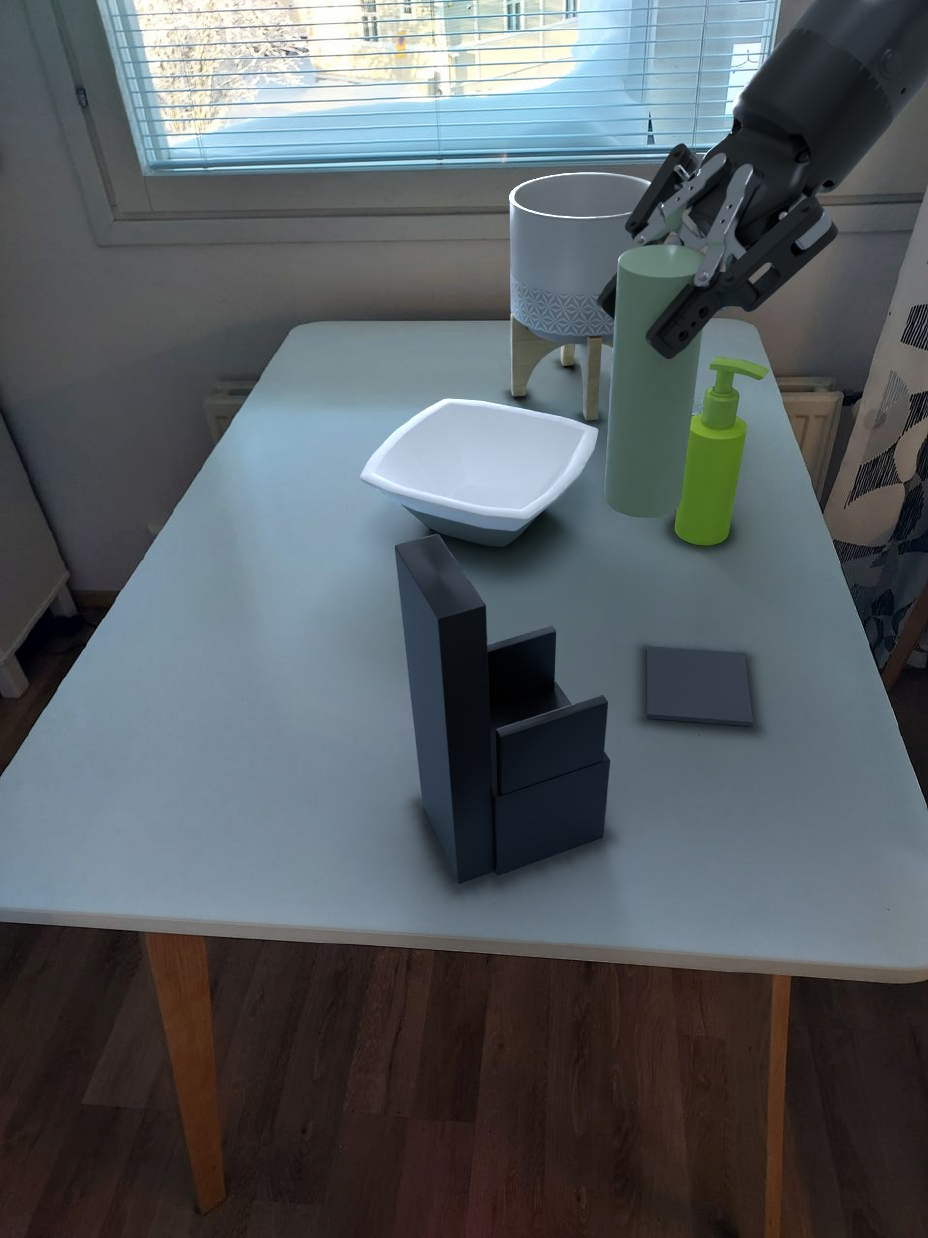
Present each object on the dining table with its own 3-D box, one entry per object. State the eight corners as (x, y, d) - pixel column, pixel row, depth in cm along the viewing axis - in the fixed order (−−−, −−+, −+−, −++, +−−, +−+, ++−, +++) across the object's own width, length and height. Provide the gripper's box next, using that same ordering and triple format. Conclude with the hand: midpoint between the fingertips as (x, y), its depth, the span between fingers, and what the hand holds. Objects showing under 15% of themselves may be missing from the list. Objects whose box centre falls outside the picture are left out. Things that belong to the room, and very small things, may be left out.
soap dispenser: (727, 554, 100) (757, 381, 87) (666, 536, 103) (687, 366, 90) (745, 526, 104) (776, 357, 91) (686, 510, 106) (708, 343, 94)
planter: (503, 365, 138) (500, 177, 121) (628, 355, 139) (642, 167, 122) (521, 426, 123) (521, 223, 107) (661, 414, 124) (682, 210, 108)
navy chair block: (553, 756, 79) (561, 497, 62) (603, 837, 72) (627, 570, 56) (420, 801, 76) (391, 540, 59) (460, 889, 69) (440, 624, 53)
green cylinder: (682, 520, 61) (713, 276, 51) (602, 516, 62) (617, 275, 51) (680, 478, 65) (708, 244, 55) (605, 475, 66) (619, 243, 55)
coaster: (752, 726, 81) (753, 722, 80) (647, 718, 82) (647, 714, 81) (744, 657, 87) (744, 652, 87) (646, 650, 89) (647, 646, 88)
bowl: (536, 595, 96) (537, 527, 90) (349, 543, 104) (340, 478, 99) (611, 489, 110) (616, 426, 105) (442, 451, 119) (438, 390, 114)
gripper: (965, 152, 47) (731, 414, 52) (792, 99, 58) (609, 322, 63) (909, 43, 43) (657, 342, 47) (730, 7, 53) (538, 256, 58)
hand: (631, 329), depth 55 cm, fingers closed on green cylinder, 5 cm apart
